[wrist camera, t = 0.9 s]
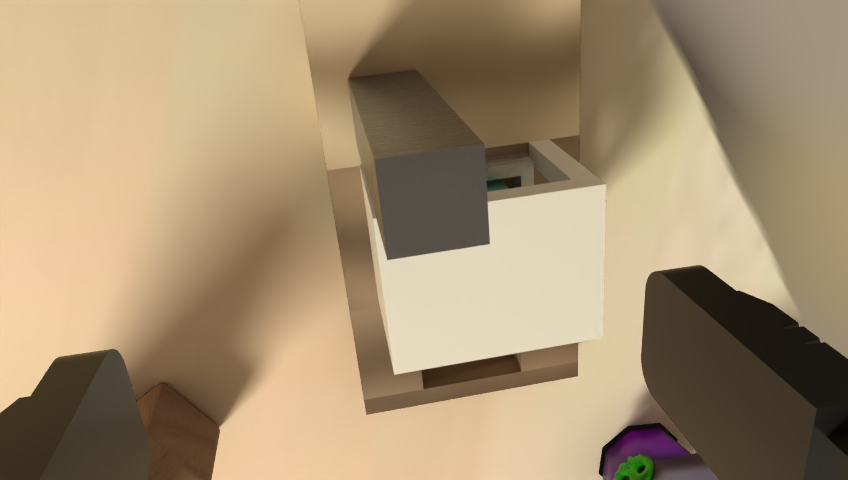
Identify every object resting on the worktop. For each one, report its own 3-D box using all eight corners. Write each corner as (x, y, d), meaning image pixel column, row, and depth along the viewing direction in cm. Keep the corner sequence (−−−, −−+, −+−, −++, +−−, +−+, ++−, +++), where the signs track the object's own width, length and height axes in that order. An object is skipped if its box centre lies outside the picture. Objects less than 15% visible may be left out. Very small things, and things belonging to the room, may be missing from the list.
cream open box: (359, 165, 30) (373, 219, 24) (549, 139, 31) (606, 184, 25) (378, 298, 33) (394, 374, 27) (550, 270, 34) (602, 337, 28)
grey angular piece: (347, 77, 28) (374, 159, 17) (520, 56, 29) (649, 121, 18) (377, 292, 33) (413, 463, 22) (526, 268, 33) (633, 421, 23)
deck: (294, -33, 28) (294, -32, 26) (564, -61, 29) (581, -62, 28) (363, 392, 37) (366, 414, 36) (564, 356, 39) (577, 376, 37)
